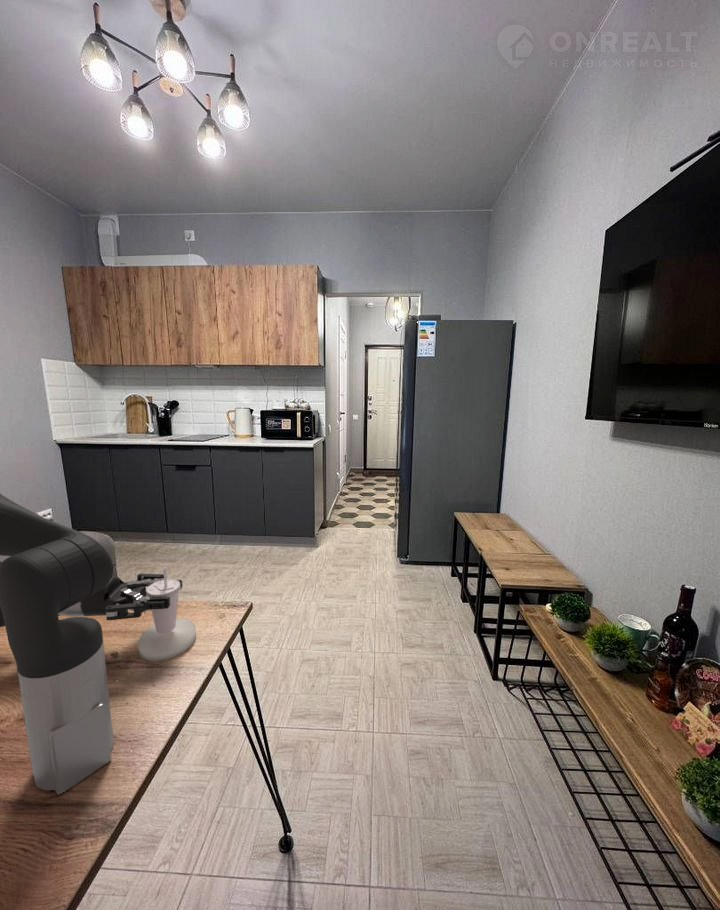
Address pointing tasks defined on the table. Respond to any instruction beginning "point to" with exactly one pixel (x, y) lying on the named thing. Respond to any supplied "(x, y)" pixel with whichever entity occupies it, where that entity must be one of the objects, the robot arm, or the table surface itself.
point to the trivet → (167, 641)
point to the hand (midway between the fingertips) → (175, 593)
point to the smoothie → (167, 617)
